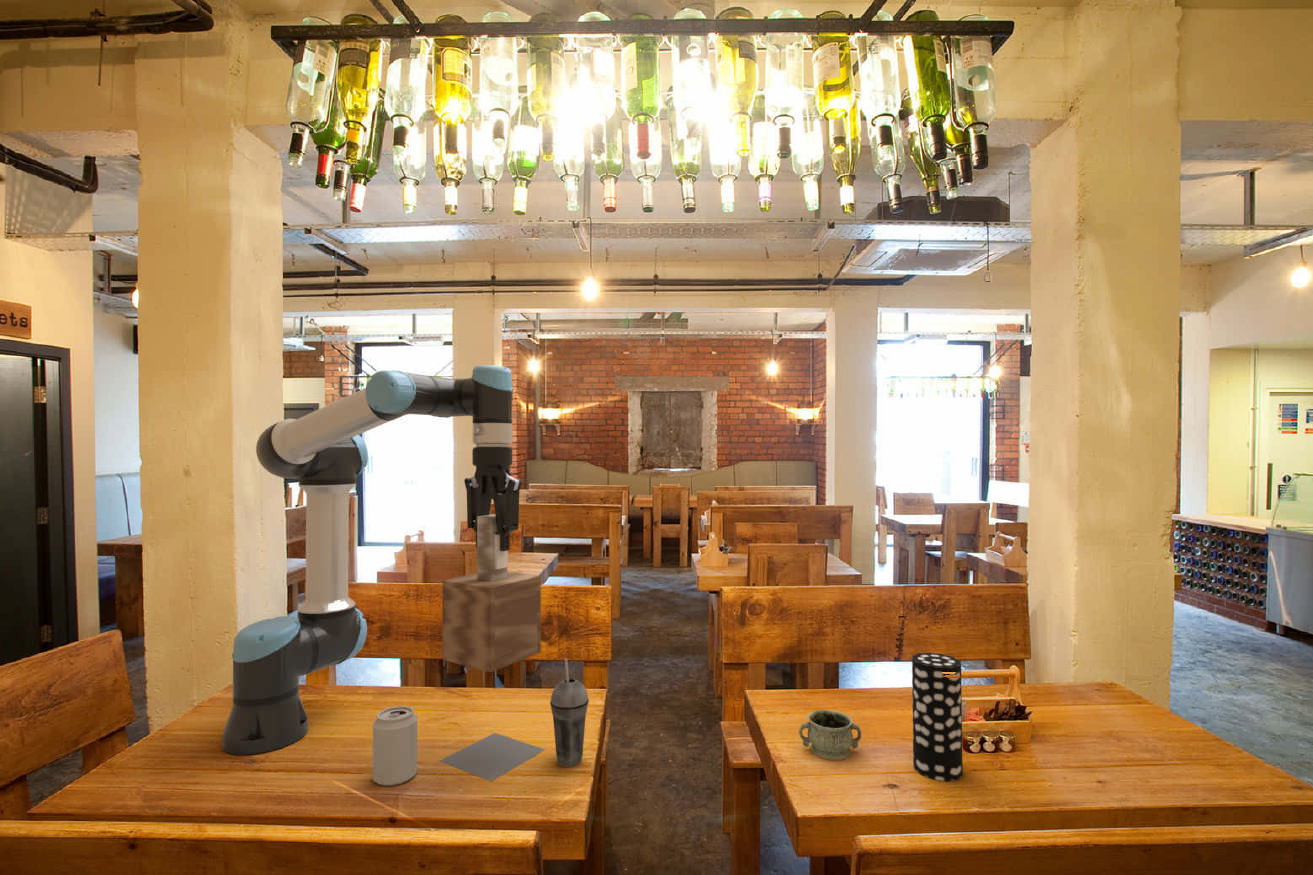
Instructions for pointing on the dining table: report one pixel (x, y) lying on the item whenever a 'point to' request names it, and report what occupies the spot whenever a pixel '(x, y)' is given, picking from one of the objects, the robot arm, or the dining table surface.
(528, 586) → the wooden block with peg
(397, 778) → the can
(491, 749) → the mat
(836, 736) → the vessel
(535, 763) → the dining table surface
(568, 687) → the beverage cup
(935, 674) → the white-spotted black cylinder
